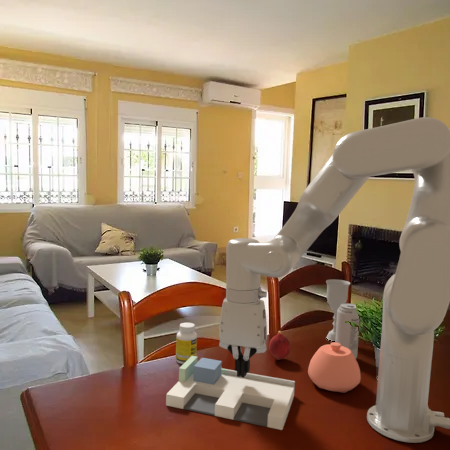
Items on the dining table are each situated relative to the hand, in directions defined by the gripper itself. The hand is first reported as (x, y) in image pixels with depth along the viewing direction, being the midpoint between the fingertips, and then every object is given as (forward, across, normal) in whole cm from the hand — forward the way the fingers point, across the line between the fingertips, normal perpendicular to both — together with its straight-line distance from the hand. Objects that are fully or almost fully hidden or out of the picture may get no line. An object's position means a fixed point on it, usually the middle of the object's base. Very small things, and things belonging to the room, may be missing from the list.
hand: (242, 374), depth 98 cm
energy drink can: (+6, -21, -30) cm, 37 cm away
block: (+2, +8, 0) cm, 9 cm away
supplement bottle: (+4, +19, -12) cm, 23 cm away
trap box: (+5, +1, +3) cm, 6 cm away
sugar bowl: (+6, -19, -14) cm, 24 cm away
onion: (+5, -4, -22) cm, 23 cm away
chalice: (+6, -17, -44) cm, 48 cm away
